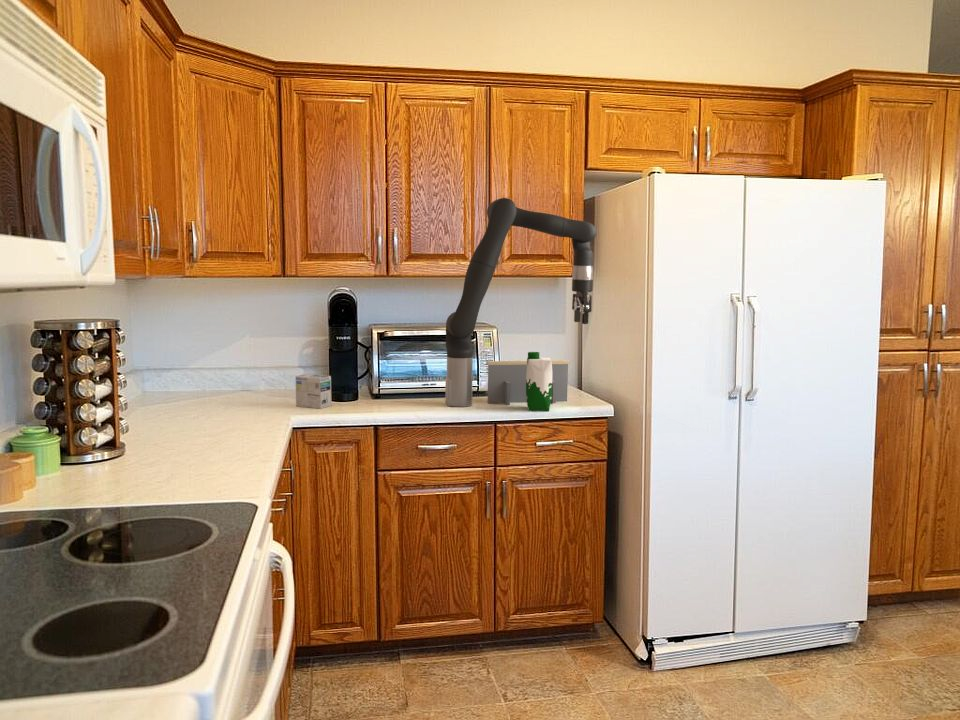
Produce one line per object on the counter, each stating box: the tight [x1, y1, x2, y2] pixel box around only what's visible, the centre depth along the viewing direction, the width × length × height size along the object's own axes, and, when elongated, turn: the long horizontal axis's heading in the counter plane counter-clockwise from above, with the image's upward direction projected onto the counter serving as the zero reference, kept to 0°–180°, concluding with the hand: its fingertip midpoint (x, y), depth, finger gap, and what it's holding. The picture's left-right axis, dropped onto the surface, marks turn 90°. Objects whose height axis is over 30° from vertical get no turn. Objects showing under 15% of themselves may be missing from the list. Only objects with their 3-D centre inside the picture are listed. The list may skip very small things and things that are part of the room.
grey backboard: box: [485, 359, 570, 406], centre depth 266 cm, size 31×7×15 cm, turn 102°
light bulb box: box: [295, 373, 332, 410], centre depth 254 cm, size 11×7×11 cm, turn 68°
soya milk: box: [526, 351, 553, 412], centre depth 254 cm, size 9×9×20 cm
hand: (581, 323), depth 267 cm, fingers open, 8 cm apart
